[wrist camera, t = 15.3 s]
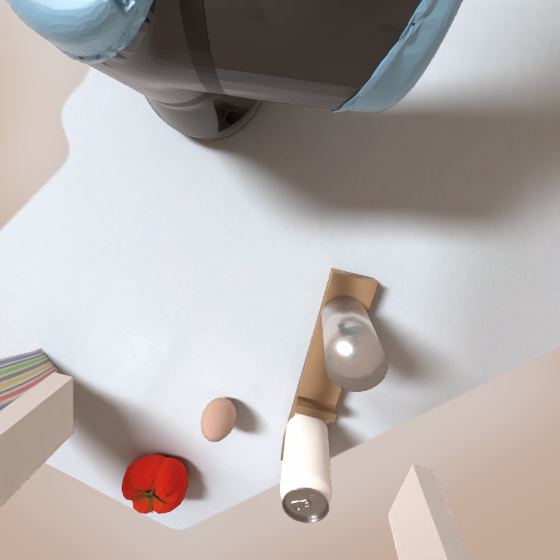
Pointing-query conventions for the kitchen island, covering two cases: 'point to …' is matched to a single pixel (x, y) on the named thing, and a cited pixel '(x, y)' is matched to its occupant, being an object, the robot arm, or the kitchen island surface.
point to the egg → (218, 419)
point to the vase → (22, 374)
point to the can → (306, 470)
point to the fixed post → (351, 345)
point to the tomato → (155, 484)
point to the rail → (314, 379)
